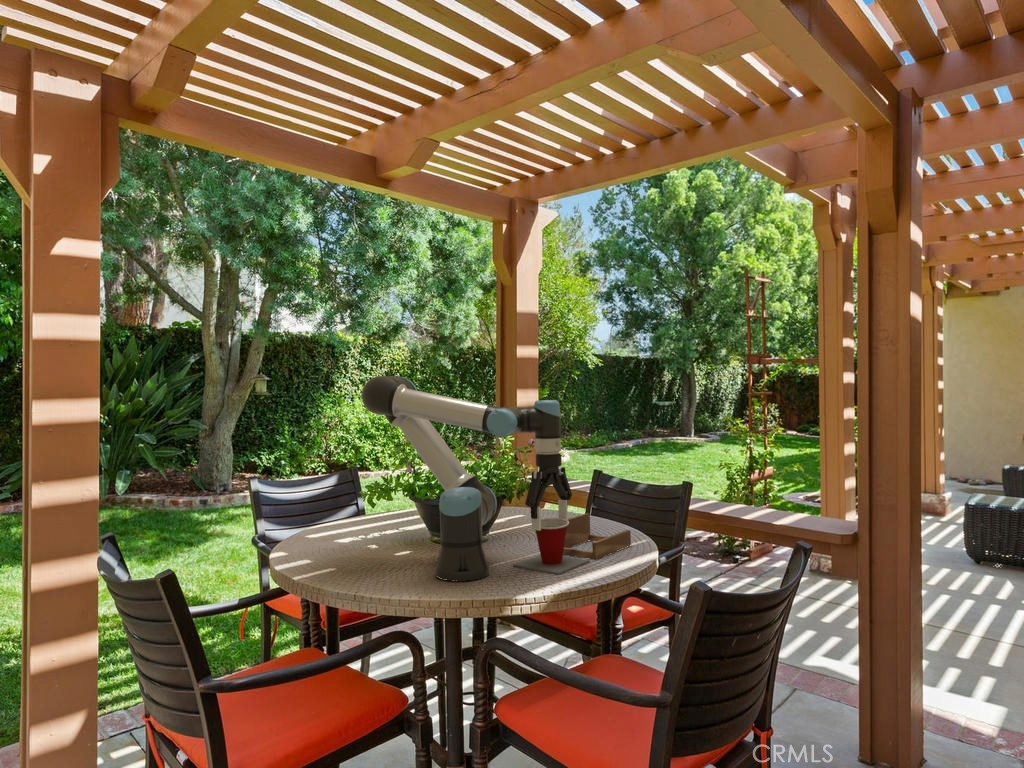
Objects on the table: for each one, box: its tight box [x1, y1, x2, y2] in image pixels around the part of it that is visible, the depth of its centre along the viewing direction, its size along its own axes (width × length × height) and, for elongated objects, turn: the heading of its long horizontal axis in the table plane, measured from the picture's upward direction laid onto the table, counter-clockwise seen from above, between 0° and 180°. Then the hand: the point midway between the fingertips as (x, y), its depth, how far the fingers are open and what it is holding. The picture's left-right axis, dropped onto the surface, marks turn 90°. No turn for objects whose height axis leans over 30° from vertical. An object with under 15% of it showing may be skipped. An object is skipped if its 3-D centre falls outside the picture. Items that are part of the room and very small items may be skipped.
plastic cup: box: [534, 517, 569, 565], centre depth 190 cm, size 11×11×12 cm
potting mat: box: [512, 554, 591, 576], centre depth 190 cm, size 16×16×1 cm
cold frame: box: [563, 513, 632, 560], centre depth 208 cm, size 16×21×9 cm
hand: (550, 525), depth 190 cm, fingers open, 13 cm apart
